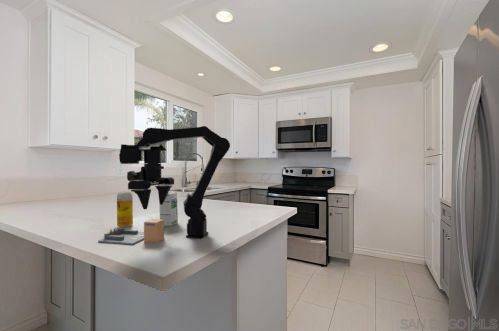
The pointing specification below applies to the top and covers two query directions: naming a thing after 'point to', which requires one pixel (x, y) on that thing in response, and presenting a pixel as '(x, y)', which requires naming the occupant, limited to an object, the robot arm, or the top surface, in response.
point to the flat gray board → (123, 236)
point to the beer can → (124, 209)
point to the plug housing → (153, 230)
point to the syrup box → (169, 209)
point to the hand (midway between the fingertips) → (153, 206)
